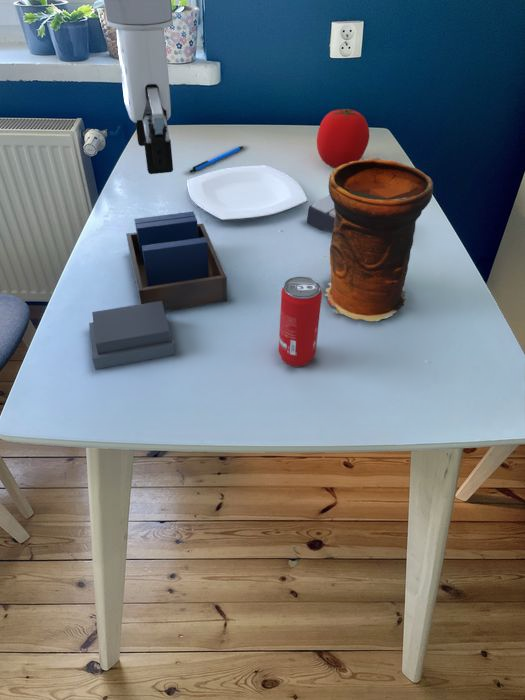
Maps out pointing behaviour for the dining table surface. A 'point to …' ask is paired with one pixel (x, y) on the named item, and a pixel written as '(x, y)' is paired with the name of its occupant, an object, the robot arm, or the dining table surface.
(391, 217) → the vessel
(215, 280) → the book box
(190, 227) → the blue books
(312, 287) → the beverage can
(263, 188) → the plate
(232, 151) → the pen
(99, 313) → the grey books
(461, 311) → the dining table surface
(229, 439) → the dining table surface
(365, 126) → the tomato
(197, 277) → the blue book
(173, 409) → the dining table surface
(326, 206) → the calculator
